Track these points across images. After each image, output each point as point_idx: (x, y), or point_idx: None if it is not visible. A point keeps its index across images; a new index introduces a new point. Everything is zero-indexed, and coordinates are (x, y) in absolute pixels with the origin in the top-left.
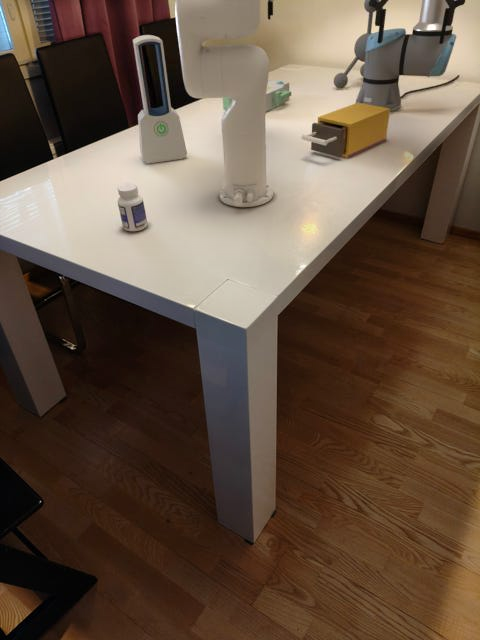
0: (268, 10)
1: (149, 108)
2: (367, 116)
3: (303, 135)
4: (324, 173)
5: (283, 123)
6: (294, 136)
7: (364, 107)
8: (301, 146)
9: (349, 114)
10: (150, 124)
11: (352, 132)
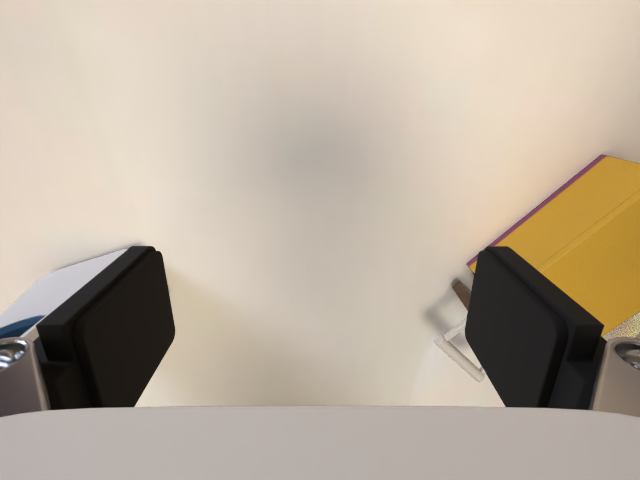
0: (498, 381)
1: None
2: (628, 314)
3: (439, 345)
4: (451, 379)
5: (417, 12)
6: (432, 158)
7: None
8: (436, 238)
9: (590, 291)
10: None
11: None
